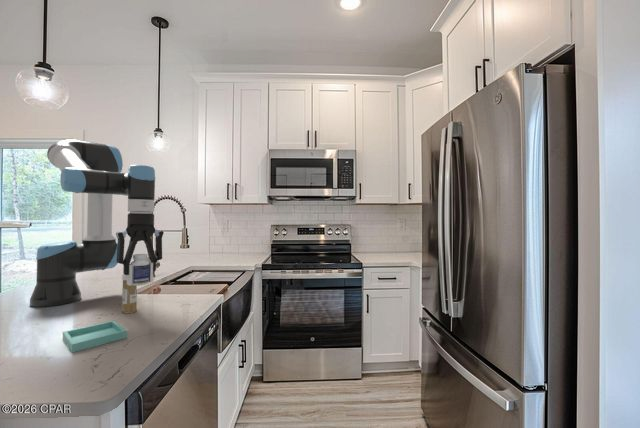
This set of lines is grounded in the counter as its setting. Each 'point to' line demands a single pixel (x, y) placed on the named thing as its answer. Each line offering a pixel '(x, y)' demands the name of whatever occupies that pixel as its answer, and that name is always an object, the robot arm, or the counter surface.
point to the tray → (93, 335)
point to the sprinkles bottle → (129, 296)
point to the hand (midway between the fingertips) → (139, 282)
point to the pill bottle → (140, 270)
